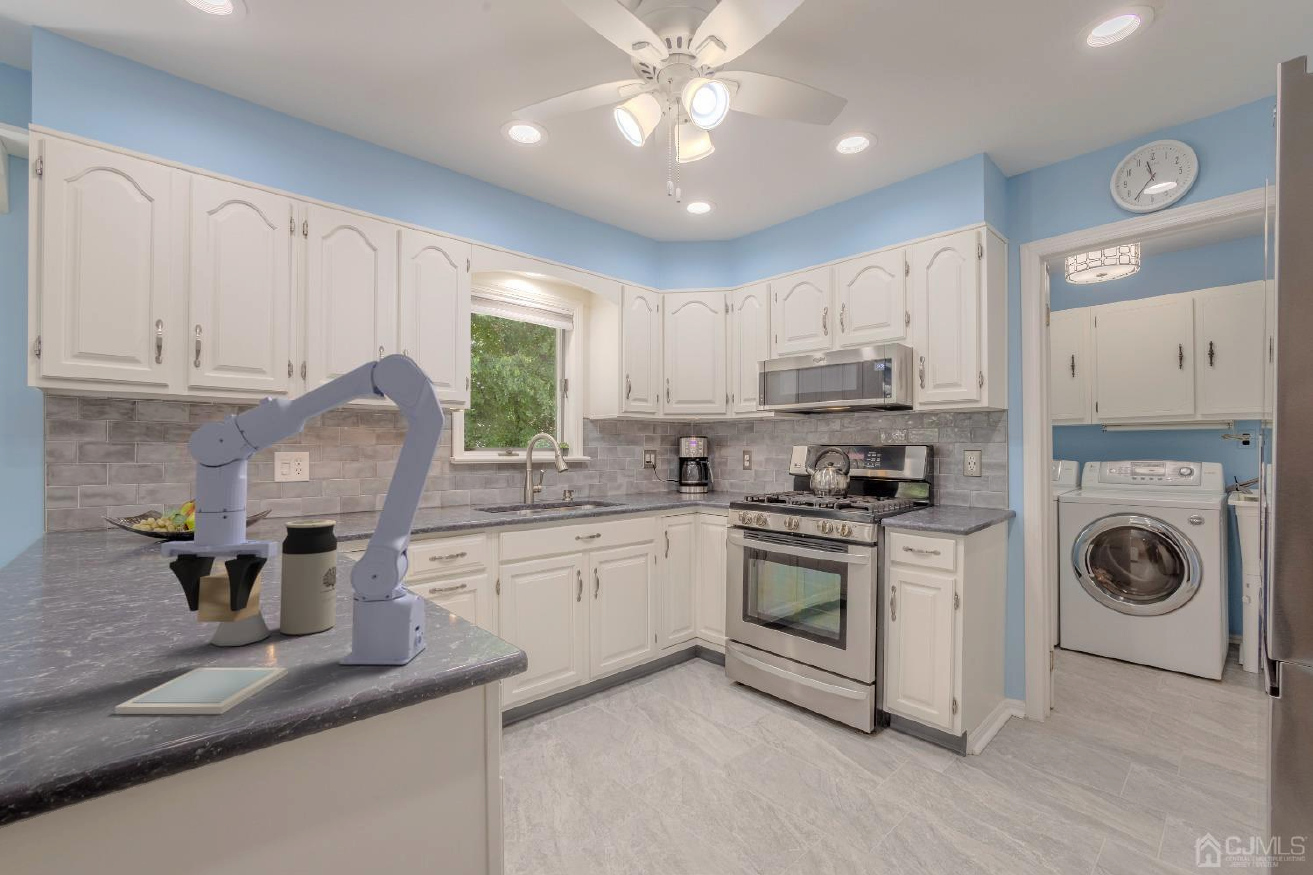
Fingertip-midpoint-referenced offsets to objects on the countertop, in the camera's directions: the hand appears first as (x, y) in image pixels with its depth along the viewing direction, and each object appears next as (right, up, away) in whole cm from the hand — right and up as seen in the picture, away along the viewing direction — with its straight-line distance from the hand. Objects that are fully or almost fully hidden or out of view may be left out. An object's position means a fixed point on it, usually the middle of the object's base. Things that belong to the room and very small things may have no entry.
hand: (218, 609), depth 79 cm
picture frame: (+5, -8, -8) cm, 12 cm away
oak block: (0, -2, +2) cm, 3 cm away
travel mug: (+2, -9, +18) cm, 20 cm away
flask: (-5, -9, +12) cm, 15 cm away
